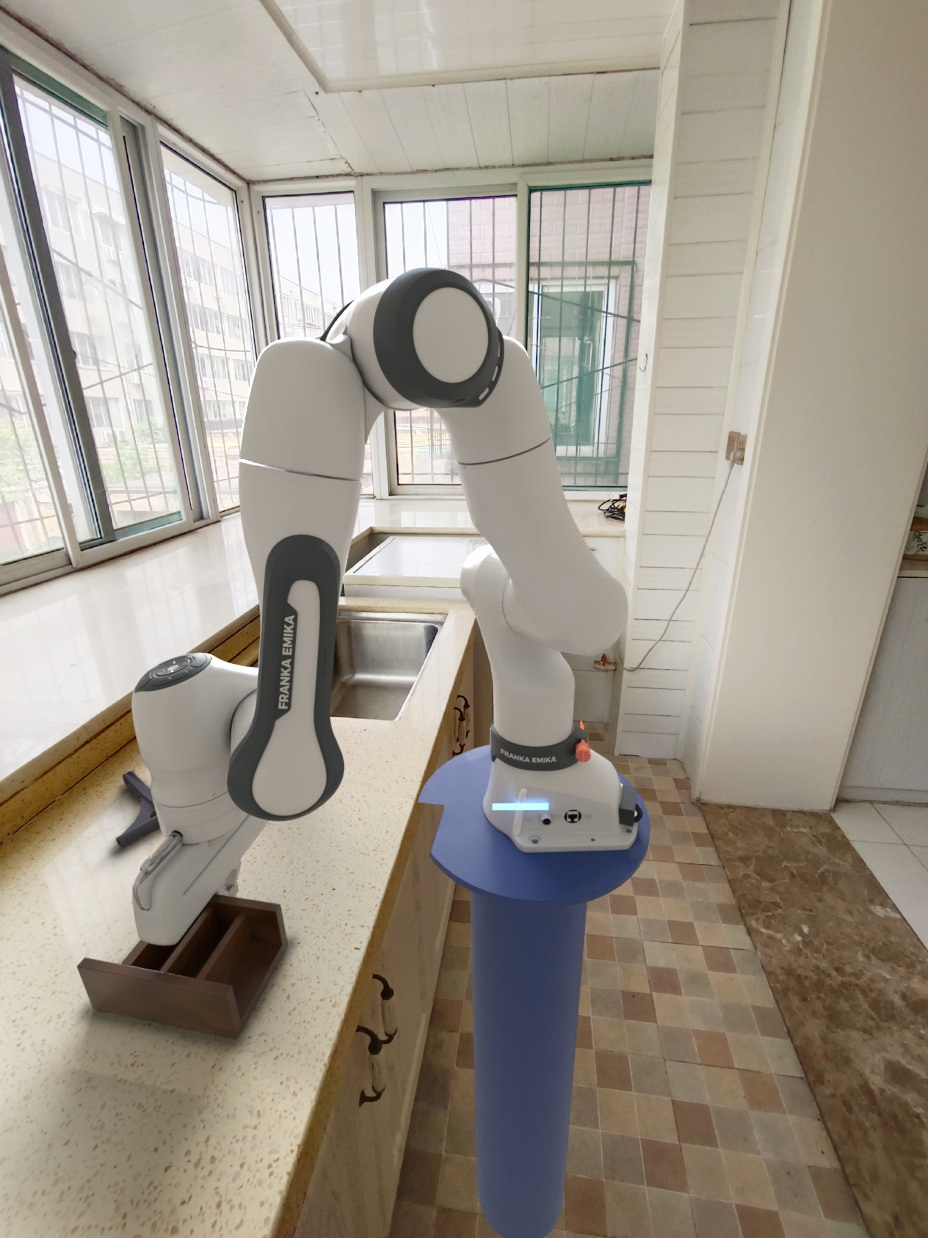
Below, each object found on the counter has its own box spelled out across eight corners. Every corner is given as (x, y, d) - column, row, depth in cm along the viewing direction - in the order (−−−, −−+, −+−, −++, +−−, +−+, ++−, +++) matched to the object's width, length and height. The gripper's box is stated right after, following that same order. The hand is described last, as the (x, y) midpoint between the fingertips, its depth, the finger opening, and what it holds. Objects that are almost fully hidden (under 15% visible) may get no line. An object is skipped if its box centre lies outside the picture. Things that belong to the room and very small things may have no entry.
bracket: (173, 762, 93) (169, 748, 92) (220, 793, 85) (217, 779, 84) (79, 809, 83) (74, 794, 82) (123, 851, 74) (118, 835, 73)
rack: (288, 944, 60) (280, 904, 58) (237, 1040, 51) (225, 996, 49) (162, 923, 63) (150, 883, 61) (92, 1009, 54) (76, 966, 52)
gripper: (161, 884, 47) (192, 993, 52) (279, 750, 66) (293, 840, 71) (99, 874, 48) (135, 982, 53) (232, 745, 67) (250, 834, 72)
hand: (226, 899), depth 62 cm, fingers closed
